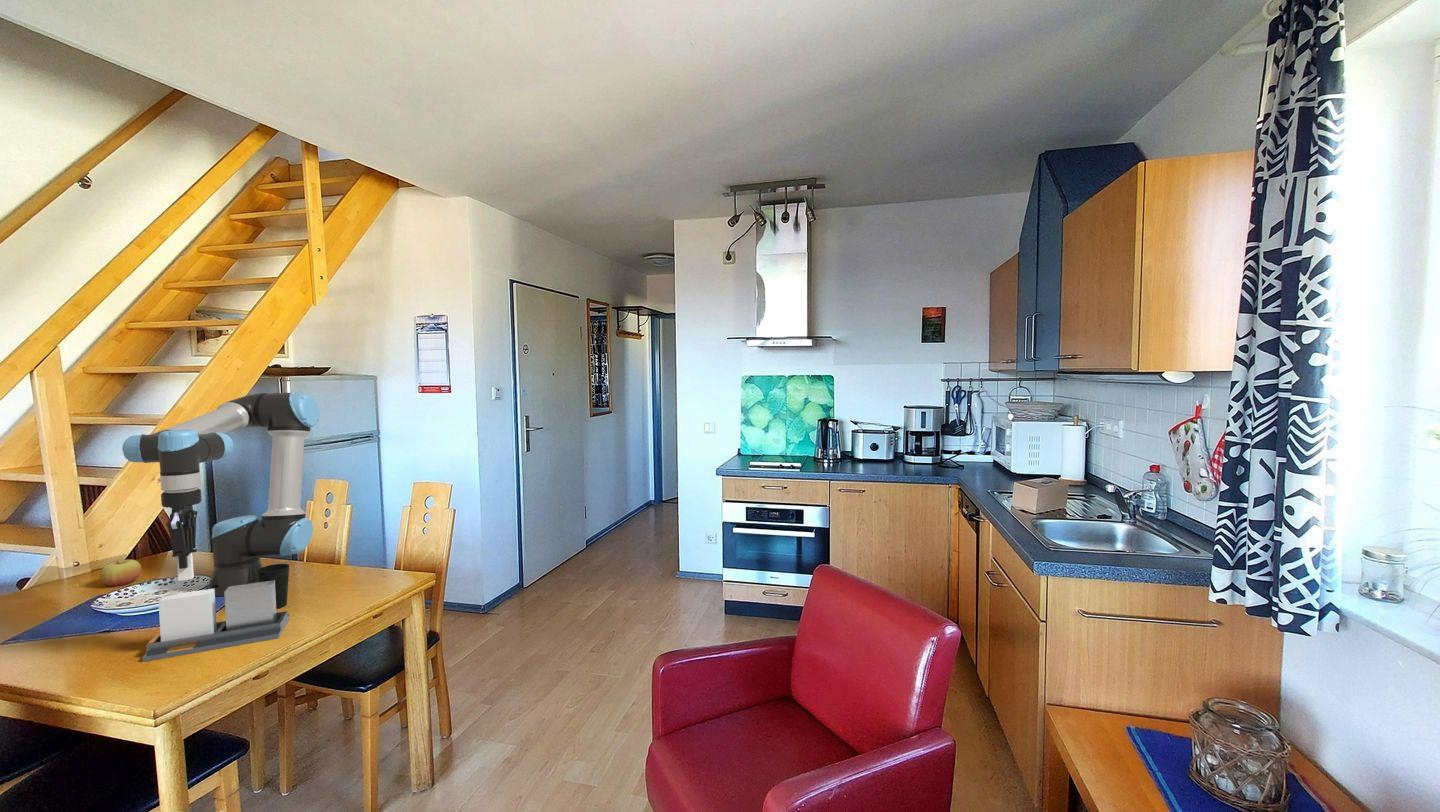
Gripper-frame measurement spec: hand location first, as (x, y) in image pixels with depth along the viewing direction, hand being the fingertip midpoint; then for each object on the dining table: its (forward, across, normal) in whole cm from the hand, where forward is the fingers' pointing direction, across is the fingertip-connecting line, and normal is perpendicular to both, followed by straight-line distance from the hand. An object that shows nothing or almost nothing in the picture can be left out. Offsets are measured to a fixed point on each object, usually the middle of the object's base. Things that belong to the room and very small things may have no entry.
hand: (186, 579), depth 148 cm
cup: (+18, -19, +15) cm, 30 cm away
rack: (+17, 0, +7) cm, 19 cm away
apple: (+17, -66, -35) cm, 77 cm away
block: (+16, 0, 0) cm, 16 cm away
